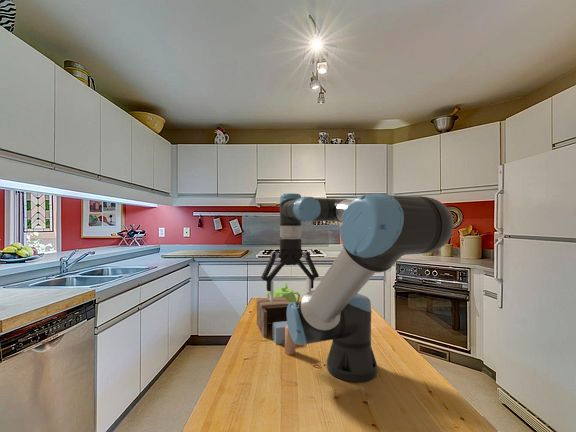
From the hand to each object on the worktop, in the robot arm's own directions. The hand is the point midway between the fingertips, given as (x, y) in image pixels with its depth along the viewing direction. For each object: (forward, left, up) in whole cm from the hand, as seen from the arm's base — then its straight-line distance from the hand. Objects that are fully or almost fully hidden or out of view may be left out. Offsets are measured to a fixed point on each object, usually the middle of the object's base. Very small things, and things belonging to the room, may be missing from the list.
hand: (290, 299), depth 100 cm
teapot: (+44, -10, -19) cm, 49 cm away
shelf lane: (+22, 0, -18) cm, 29 cm away
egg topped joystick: (+6, 0, -18) cm, 19 cm away
